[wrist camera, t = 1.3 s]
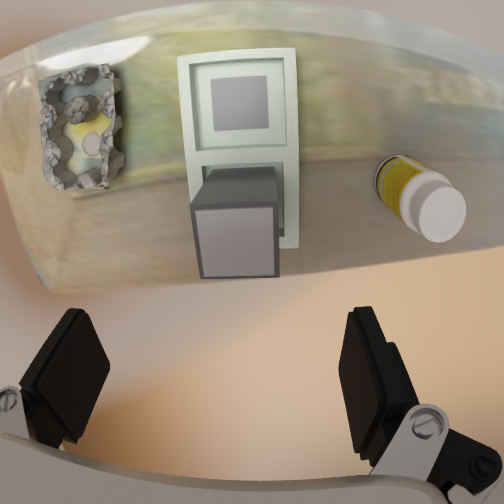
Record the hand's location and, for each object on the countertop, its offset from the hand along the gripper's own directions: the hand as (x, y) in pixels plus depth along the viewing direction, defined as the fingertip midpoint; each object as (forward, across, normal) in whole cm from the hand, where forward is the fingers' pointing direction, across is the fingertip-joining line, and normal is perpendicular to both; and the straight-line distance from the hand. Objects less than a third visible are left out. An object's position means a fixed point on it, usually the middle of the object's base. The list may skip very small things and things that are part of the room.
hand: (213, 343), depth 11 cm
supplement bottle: (+18, -14, -1) cm, 22 cm away
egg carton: (+18, +13, -7) cm, 24 cm away
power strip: (+18, 0, -4) cm, 18 cm away
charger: (+16, 0, 0) cm, 16 cm away
